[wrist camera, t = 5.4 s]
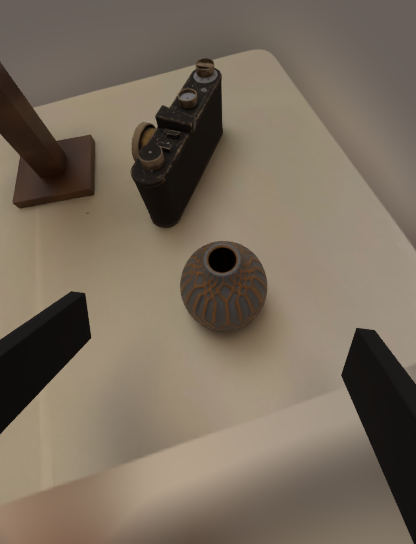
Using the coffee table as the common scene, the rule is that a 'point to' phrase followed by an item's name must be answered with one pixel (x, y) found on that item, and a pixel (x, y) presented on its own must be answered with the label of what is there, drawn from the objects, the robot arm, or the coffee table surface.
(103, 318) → the coffee table surface
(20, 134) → the square pedestal box
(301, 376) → the coffee table surface
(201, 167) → the camera
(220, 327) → the vase
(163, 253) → the coffee table surface
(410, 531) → the robot arm
